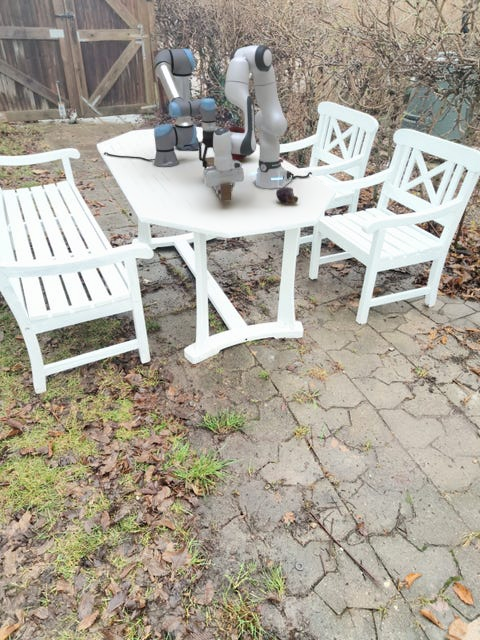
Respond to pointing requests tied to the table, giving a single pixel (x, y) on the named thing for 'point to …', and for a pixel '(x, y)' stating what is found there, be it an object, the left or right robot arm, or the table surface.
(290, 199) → the rock
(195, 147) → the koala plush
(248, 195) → the table surface
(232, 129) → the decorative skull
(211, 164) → the beam
